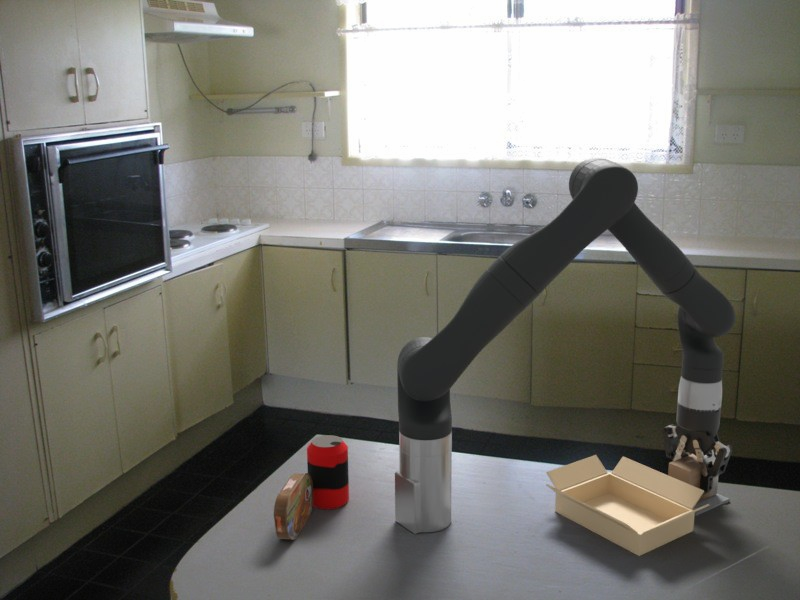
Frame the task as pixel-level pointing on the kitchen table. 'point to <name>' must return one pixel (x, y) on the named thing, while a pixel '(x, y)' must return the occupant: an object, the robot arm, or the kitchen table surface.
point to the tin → (293, 506)
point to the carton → (625, 502)
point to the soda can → (328, 471)
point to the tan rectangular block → (691, 473)
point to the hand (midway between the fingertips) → (692, 487)
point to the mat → (710, 503)
